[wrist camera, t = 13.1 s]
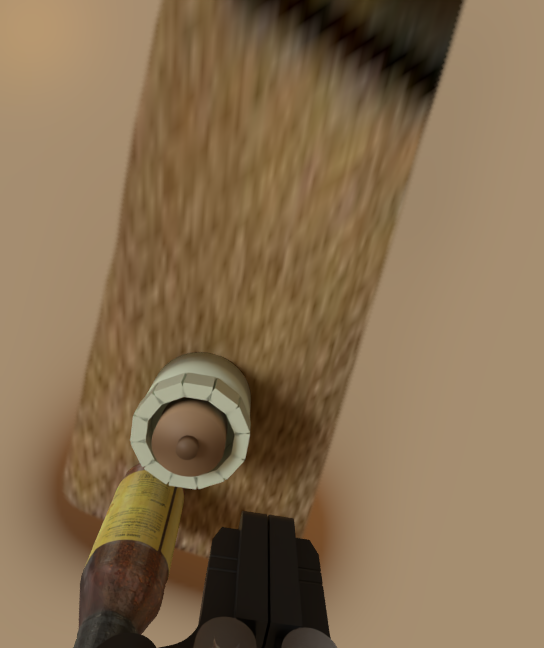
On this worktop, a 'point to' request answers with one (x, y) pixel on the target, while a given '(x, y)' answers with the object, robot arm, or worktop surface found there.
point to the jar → (206, 384)
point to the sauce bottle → (129, 559)
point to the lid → (190, 437)
